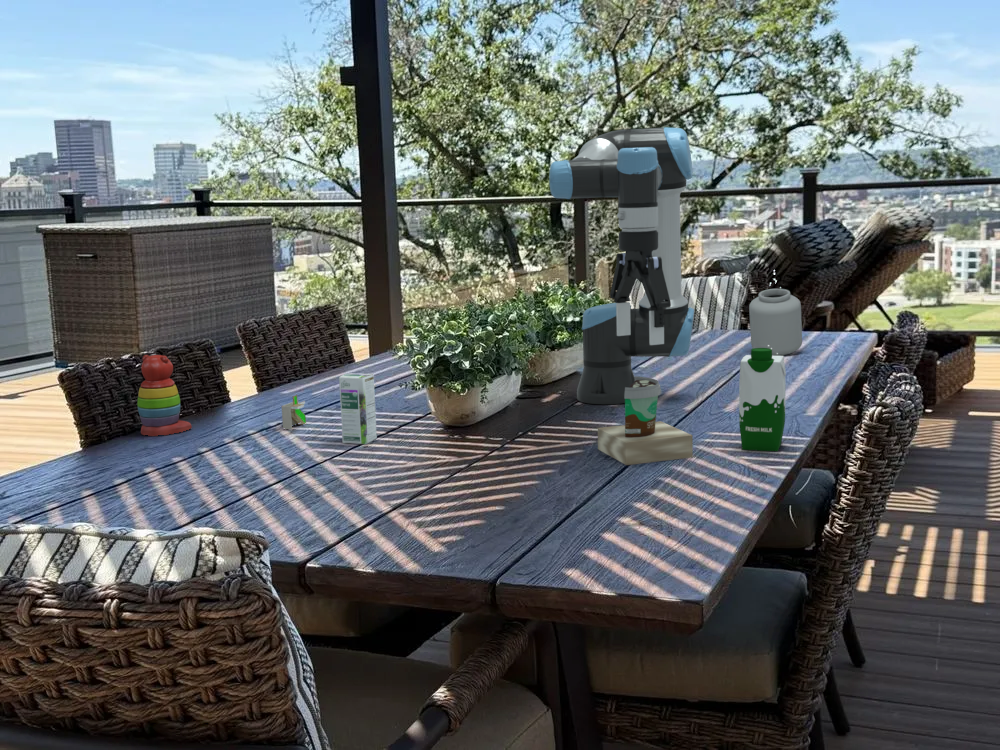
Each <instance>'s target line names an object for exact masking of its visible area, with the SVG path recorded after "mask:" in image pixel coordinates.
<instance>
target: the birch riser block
mask: <svg viewBox="0 0 1000 750" xmlns="http://www.w3.org/2000/svg"><path fill="white" fill-rule="evenodd" d="M693 440H694V439H693V434H690V433H688V432H686V431H683V430H682V429H679V428H677V427H675V426H672V425H670V424H668V423H665V422H663V421H661V420H660V421H656V422H655V432H654V434H652V435H649V436H644V437H625V424H623V425H613V426H604V427H597V450H598V451H600V452H602V453H603V454H605V455H607V456H609V457H611V458H613V459H615V460H617V461H618V462H620V463H622V464H624V465H625V466H632V465H640V464H648V463H649V464H650V463H655V462H656V463H657V462H665V461H673V460H681V459H690V458H693V457H694V456H693V448H694V447H693V446H694V445H693Z"/></svg>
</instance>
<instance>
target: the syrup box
mask: <svg viewBox="0 0 1000 750" xmlns="http://www.w3.org/2000/svg"><path fill="white" fill-rule="evenodd" d="M374 377H375V375H374V373H354V372H353V373H351V372H349V373H345V374H343V375H340V376H339V377H338V385H339V387H338V388H339V400H340V401H339V402H340V417H341V418H340V419H341V436H342V437H341V439H342V440H341V441H342V444H354V445H367V444H369V443H371V442H374V440H377V439H378V437H377V433H378V432H377V416H376V399H375V398H376V395H375V378H374Z"/></svg>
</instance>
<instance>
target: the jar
mask: <svg viewBox="0 0 1000 750" xmlns="http://www.w3.org/2000/svg"><path fill="white" fill-rule="evenodd" d="M775 271H776V270H775V269H774V270H773V275H776V272H775ZM773 281H775V282H774V283H777V281H778V280H776V278H773ZM771 284H772V282H769V287H770V286H771ZM757 295H758V296H757V297H755V298H754V299H752V300H751V302H750V303H749V304H748V305H749V308H748V309H749V313H748V314H749V327H750V328H749V329H750V330H749V331H750V343H751V345H750V346H751V349H754V348H769V349H772V356H786V355H790V354H793V353H795V352H796V351H798V350H799V349H801V347H802V345H803V328H802V324H803V323H802V305H801V300H800V299H798V297H796V296H794V295H792V294H791V291H790V290H789V289H785V288H782V287H781V286H780V287H779V288H770V289H769V288H768V289H765V290H762V291H759V293H758V294H757Z"/></svg>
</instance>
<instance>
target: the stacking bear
mask: <svg viewBox="0 0 1000 750" xmlns="http://www.w3.org/2000/svg"><path fill="white" fill-rule="evenodd" d="M140 369H141V374H142V376H143V378H144V379H145V380H143V381H142V382H141V384H140V387H139V390H138V396H137V404H136V406H137V411H138V414H139V419H140V421H141V424H142V425H141V428H140V435H143V436H145V435H148V436H147V437H159V436H158V435H164V436H170V435H169V434H171V435H175V434H174V433H177V434H180V433H179V432H181V433H184V432H183V431H185V432H187V431H186V430H188V431H190V430H189V429H191V428H192V429H193V425H192V424H191V422H189V421H187V420H186V421H185V420H180V413H181V398H180V394H179V390H178V388H177V385H176V384H175V381H174V380H173V379H172V378H170V377H171V375H172V374H173V371H174V365H173V363H172V361H171V360H170V359H169V358H168V357H167V355H163V354H162V355H161V354H153V355H149V354H145V355H143V356H142V364H141V368H140ZM192 429H191V430H192Z"/></svg>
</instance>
